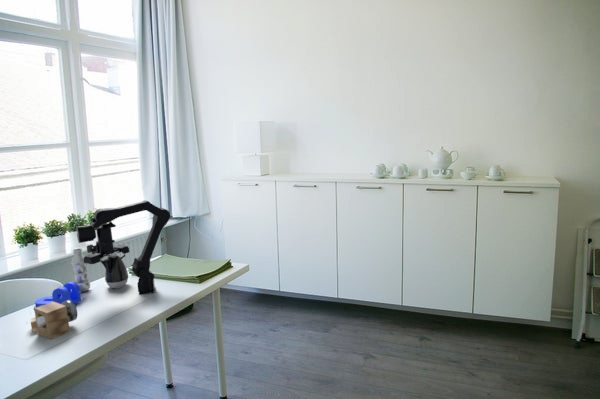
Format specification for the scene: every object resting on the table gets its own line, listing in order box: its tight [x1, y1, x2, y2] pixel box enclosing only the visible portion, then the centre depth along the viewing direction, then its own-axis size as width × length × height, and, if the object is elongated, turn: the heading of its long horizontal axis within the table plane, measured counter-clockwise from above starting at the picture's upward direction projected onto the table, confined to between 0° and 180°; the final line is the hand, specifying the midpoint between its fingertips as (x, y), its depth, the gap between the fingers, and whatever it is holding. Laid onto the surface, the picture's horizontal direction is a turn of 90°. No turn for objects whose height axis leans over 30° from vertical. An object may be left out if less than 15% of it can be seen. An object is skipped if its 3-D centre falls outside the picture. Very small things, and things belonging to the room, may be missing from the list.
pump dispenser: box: [104, 254, 129, 289], centre depth 212 cm, size 10×10×15 cm
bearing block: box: [33, 302, 71, 340], centre depth 166 cm, size 7×9×10 cm
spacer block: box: [30, 317, 38, 333], centre depth 170 cm, size 4×4×4 cm
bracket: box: [34, 281, 82, 308], centre depth 194 cm, size 18×8×9 cm, turn 80°
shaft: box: [37, 300, 78, 327], centre depth 167 cm, size 12×8×8 cm, turn 146°
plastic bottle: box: [70, 248, 91, 293], centre depth 207 cm, size 6×7×20 cm
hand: (109, 273), depth 194 cm, fingers closed
